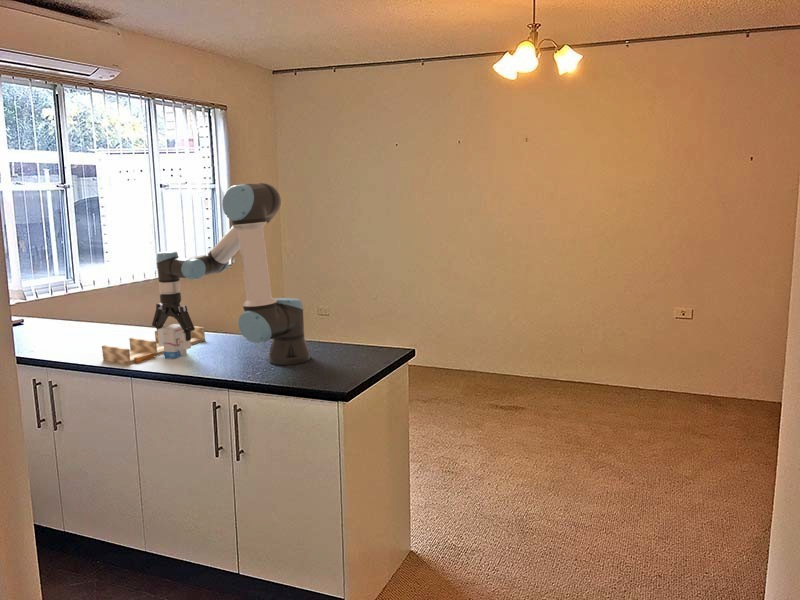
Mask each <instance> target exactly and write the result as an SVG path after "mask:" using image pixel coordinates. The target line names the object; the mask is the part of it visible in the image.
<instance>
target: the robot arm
mask: <svg viewBox="0 0 800 600" xmlns="http://www.w3.org/2000/svg"><path fill="white" fill-rule="evenodd" d="M222 197H223V198H222V201H221V202H222V203H221V204H222V210H223V213H224V214H225V215H226V217H227V218H228V219H229V220H231V225H232V226H231V227H230V229H229V230H228V231H227V232H226V233H225V234H224V235H223V236H222V238H220V240H219V241H218V242H217V243H216V244H215V246H214V247H212V249H211V250H210V251H209V252H208V253H207V254H204V255H198V256H191V257H179V256H178V252H177V251H175V250H165V251H158V253H157V254H156V267H157V275H158V277H157V278H158V290H159V293H160V294H159V300H160V301H159V302H160V303H156V304H155V305H156V306H155V311H154V316H153V320H152V322H151V326H152V327H155V329H156V331H157V336H158V342H159V345H164V344H163V330H162V329H163V328H164V324H165V323H166V321H167V320H168V318H169V317H171V318H173V319H175V320H176V321H177V324H180V326H181V327H182V329H183V330H184V332H183V343H184V350H186V351H187V350H189V349H191V348H192V345H191V343H190V340H191V331H193V330H195V328H194V323H193V321H192V319H191V317H190V314H189V312H188V307H187V305H183V306H181V302H182V292H180V291H181V280H180V279H185V280H186V279H187V280H188V279H189V280H199V279H201V278H202V277H203V276H207V275H208V276H209V275H212V274H213V275H214V274H219V273H222V272H225V271H226V270H228V267H229V263H230V260H231V259H232V258H234V256H235V255H236V254H237V252H238V251H240V257H241V266H242V273H243V282H244V289H245V295H246V296H245V297H246V300H245V301H244V303H243V305H242V307H243V312H242V313H241V315H240V316H239V318H238V322H237V324H238V329H239V331H240V333H241V335H242V336H243V337H244V338H245V339H246V340H247V341H249V342H250V343H254V344H260V343H264V342H268V341H269V340H271V339H272V342H271V345H270V349H269V353H268V363H271V364H273V365H278V366H279V365H280V366H292V365H300V364H302V363H306V362H308V361H309V360H311V352H310V349H309V347H308V343H307V341H306V339H305V324H304V323H305V322H304V308H303V301H302V300H301V299H299V298H292V297H290V298H289V297H273V296H272V295H273V294H272V287H271V280H270V271H269V265H268V263H269V262H268V255H267V249H266V241H265V240H266V239H265V238H266V237H265V231H264V227H265V226H266V224H269V223H270V222H271V221H272V220H273V219H274V217H276V215H277V214H278V212H279V211H280V208H281V205H282V198H281V195H280V193H279V191H278V190H277V189H276V188H275V187H274V186H273V185H271V184H269V183H263V182H260V183H241V184H235V185H232V186H230V187H229V188H228V189H227V190H226V192H225V193H224V195H223V196H222ZM190 327H191V328H190ZM186 328H187V329H186Z"/></svg>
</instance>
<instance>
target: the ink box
mask: <svg viewBox="0 0 800 600" xmlns="http://www.w3.org/2000/svg"><path fill="white" fill-rule="evenodd" d="M162 328H163V329H162V330H163V344H164V354H163V357H164V359H167V358H171V359H172V360H173V359H174V360H175V359H178V358H180V357H182V356H185V355H186V354H187V353H188V352H187V349H186V350H184V343H183V332H184V330H183V329H182V327H181V326H180V324H179V323H173V324H172V323H171V324H169V325H167V326H165V327H162Z"/></svg>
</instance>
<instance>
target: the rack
mask: <svg viewBox="0 0 800 600" xmlns="http://www.w3.org/2000/svg"><path fill="white" fill-rule="evenodd" d="M193 326H194V325H193ZM190 328H191V327H190ZM194 328H195V330H193V331H191V340H190V343H191V346H193V345H196V344H198V343H199V342H200V343H203V342H206V334H205V327H204V326H202V327H201V326H194ZM186 329H187V328H186ZM154 337H155V338H154V339H155V340H150V339H144V338H137V337H136V338H135V337H129V338H128V340H129V347H130V348H126V347H125V348H124V347H119V346H118V347H117V346H112V345H106V344H105V345H104V344H103V345H101V352H102V359H103V361H105V362H109V363H110V362H111V363H117V364H121V365H122V364H123V365H129V366H130V365H133V364H140V363H143V362H146V361H148V360H152V359H155V358H156V357H157V355H158V356H160V354H161V355H164V354H163V353H164V345H159V342H158V336H157V330H155V331H154ZM202 341H203V342H202ZM200 343H199V344H200ZM192 344H193V345H192Z"/></svg>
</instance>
